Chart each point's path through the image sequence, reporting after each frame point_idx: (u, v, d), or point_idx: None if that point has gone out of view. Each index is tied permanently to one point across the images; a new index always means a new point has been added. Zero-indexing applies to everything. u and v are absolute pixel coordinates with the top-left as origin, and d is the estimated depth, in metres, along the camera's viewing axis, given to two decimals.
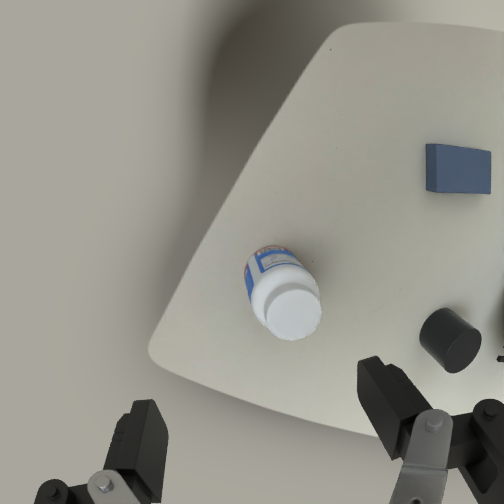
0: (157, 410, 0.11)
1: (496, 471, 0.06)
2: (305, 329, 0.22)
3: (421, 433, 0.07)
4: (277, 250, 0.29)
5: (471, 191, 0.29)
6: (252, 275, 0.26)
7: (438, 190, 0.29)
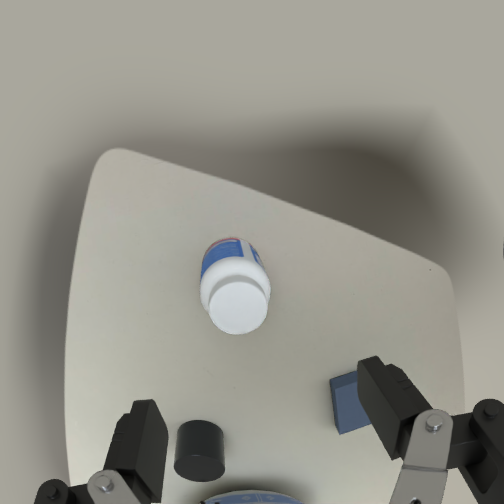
0: (157, 410, 0.11)
1: (496, 471, 0.06)
2: (225, 323, 0.22)
3: (421, 433, 0.07)
4: None
5: (339, 418, 0.35)
6: (243, 250, 0.26)
7: (336, 390, 0.34)
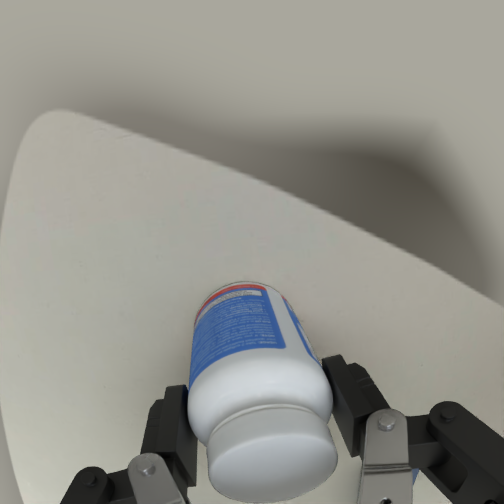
0: None
1: (464, 469, 0.07)
2: (242, 492, 0.08)
3: (376, 434, 0.07)
4: None
5: None
6: (280, 323, 0.12)
7: None
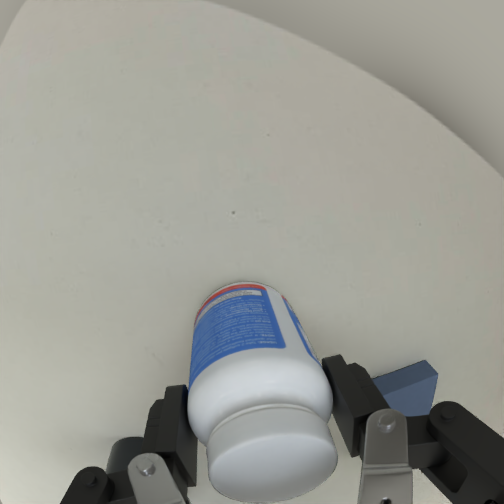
0: None
1: (463, 469, 0.07)
2: (242, 492, 0.08)
3: (375, 434, 0.07)
4: None
5: None
6: (279, 323, 0.12)
7: None
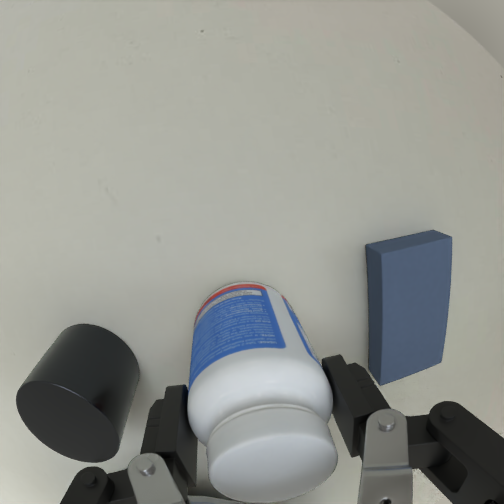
0: None
1: (463, 469, 0.07)
2: (242, 492, 0.08)
3: (375, 434, 0.07)
4: None
5: (385, 340, 0.17)
6: (279, 323, 0.12)
7: (384, 258, 0.16)
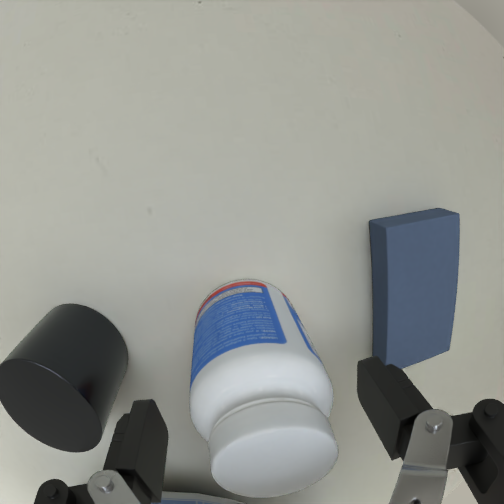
0: (157, 410, 0.11)
1: (496, 471, 0.06)
2: (244, 486, 0.08)
3: (421, 433, 0.07)
4: None
5: (390, 323, 0.16)
6: (280, 319, 0.13)
7: (389, 232, 0.15)
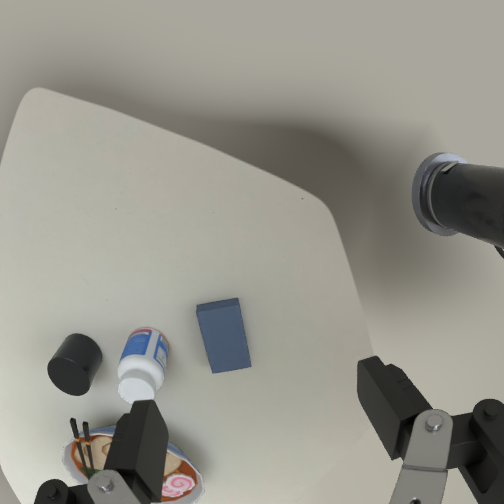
0: (157, 410, 0.11)
1: (496, 471, 0.06)
2: (128, 398, 0.30)
3: (421, 433, 0.07)
4: (167, 352, 0.37)
5: (208, 350, 0.38)
6: (148, 346, 0.34)
7: (198, 313, 0.36)
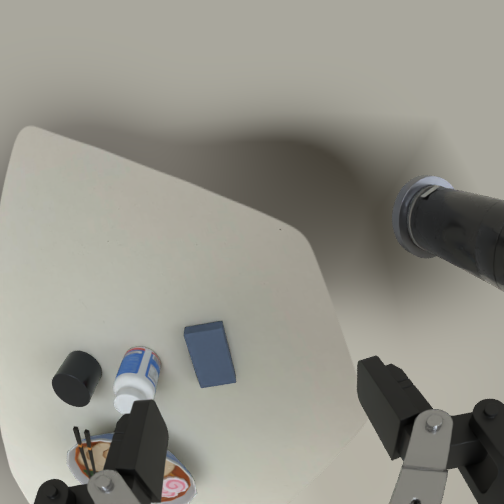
0: (157, 410, 0.11)
1: (496, 471, 0.06)
2: (123, 411, 0.33)
3: (421, 433, 0.07)
4: (158, 368, 0.40)
5: (195, 368, 0.41)
6: (140, 365, 0.37)
7: (185, 336, 0.39)
